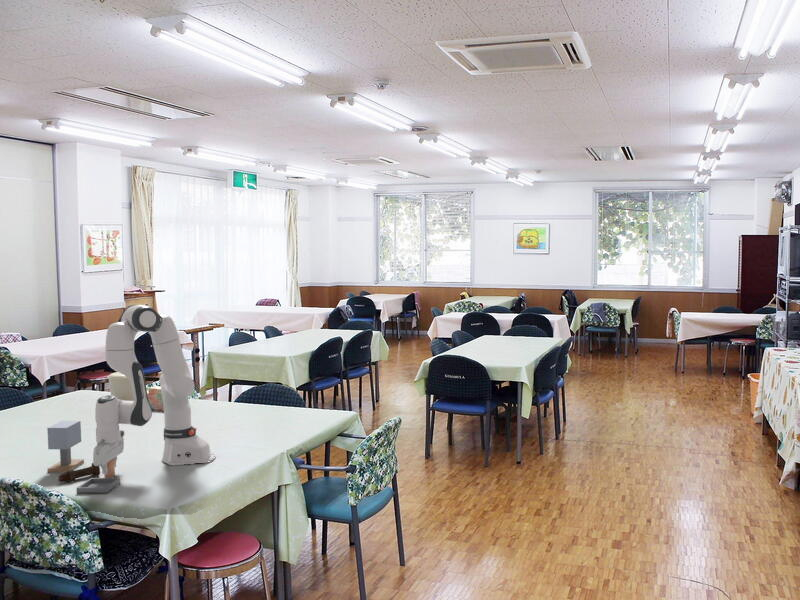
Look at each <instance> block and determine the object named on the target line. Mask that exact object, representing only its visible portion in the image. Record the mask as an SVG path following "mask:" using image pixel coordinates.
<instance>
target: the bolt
mask: <svg viewBox="0 0 800 600" xmlns="http://www.w3.org/2000/svg"><path fill="white" fill-rule="evenodd" d="M100 468H101V466H94V464H93V462H92V463H91V466H87V467H84V468H80V469H76V470H75V469H74V470H68V471H67V472H63V473H61V474H60V475H58V476H57V478H58V479H57V481H58V482H60V483H64V482H67V481H68V482H70V483H73V482H75V481H76V479H80V478H84V477H87V476H94V475H95V476H94V477H99V476H100V474H101V469H100ZM98 475H99V476H98ZM72 481H73V482H72Z"/></svg>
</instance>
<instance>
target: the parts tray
mask: <svg viewBox="0 0 800 600" xmlns="http://www.w3.org/2000/svg"><path fill="white" fill-rule="evenodd" d="M118 484H119V485H121V478H120V477H114V478H104V477H91V478H89V479H87V480H86V481H84V482H83V483H81V484H80V485H79V486H77V487H76V494H77V495H86V494H88V495H96V494H97V495H108V494H109V493H110V492H112V491H113V490H114V489H115V488H116V486H117V485H118ZM119 485H118V486H119ZM118 486H117V487H118ZM112 489H113V490H112Z"/></svg>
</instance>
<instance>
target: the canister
mask: <svg viewBox="0 0 800 600" xmlns="http://www.w3.org/2000/svg"><path fill="white" fill-rule="evenodd" d="M106 377H107V379H108V385H109V393H110V395H113V396H116V398H117V399H120V400H126V401H134V397H133V391H132V385H131V382H130V380H129V379H128V378H127V377H126V376H125V375H123V374H121V373H119V372H117V371H115V372H113V373H110V374H109V375H107V376H106Z"/></svg>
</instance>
